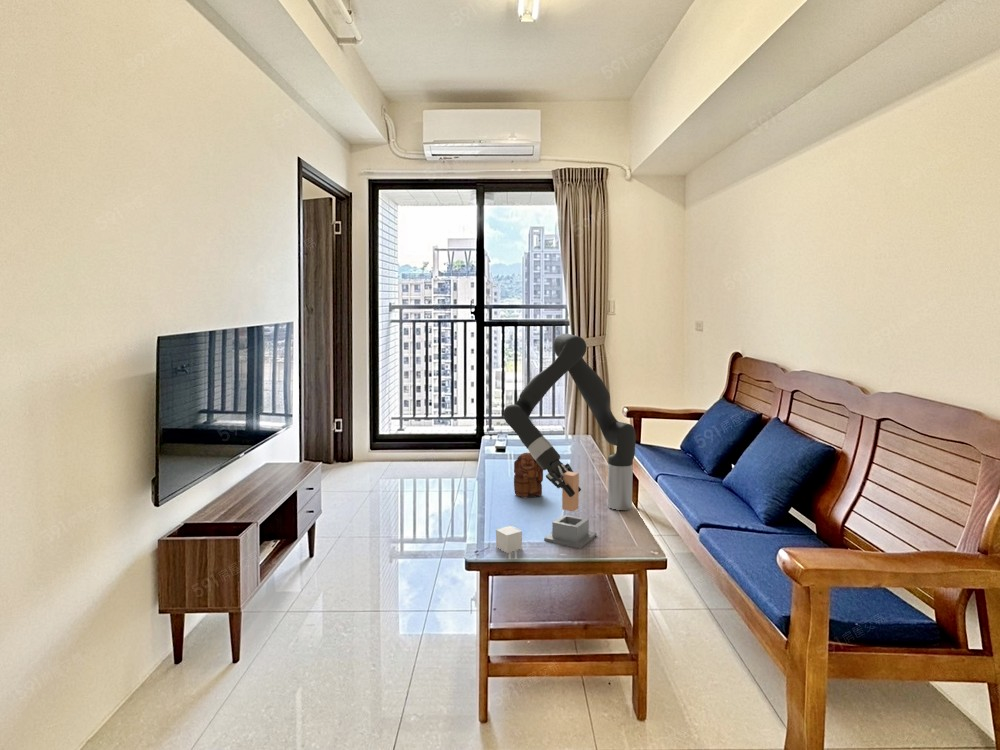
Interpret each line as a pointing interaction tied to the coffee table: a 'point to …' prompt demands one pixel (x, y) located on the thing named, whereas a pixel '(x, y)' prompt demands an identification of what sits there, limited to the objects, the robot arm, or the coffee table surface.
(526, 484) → the wooden figurine
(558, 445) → the coffee table surface
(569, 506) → the orange rectangular block
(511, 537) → the white cube
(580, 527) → the well
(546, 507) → the coffee table surface
